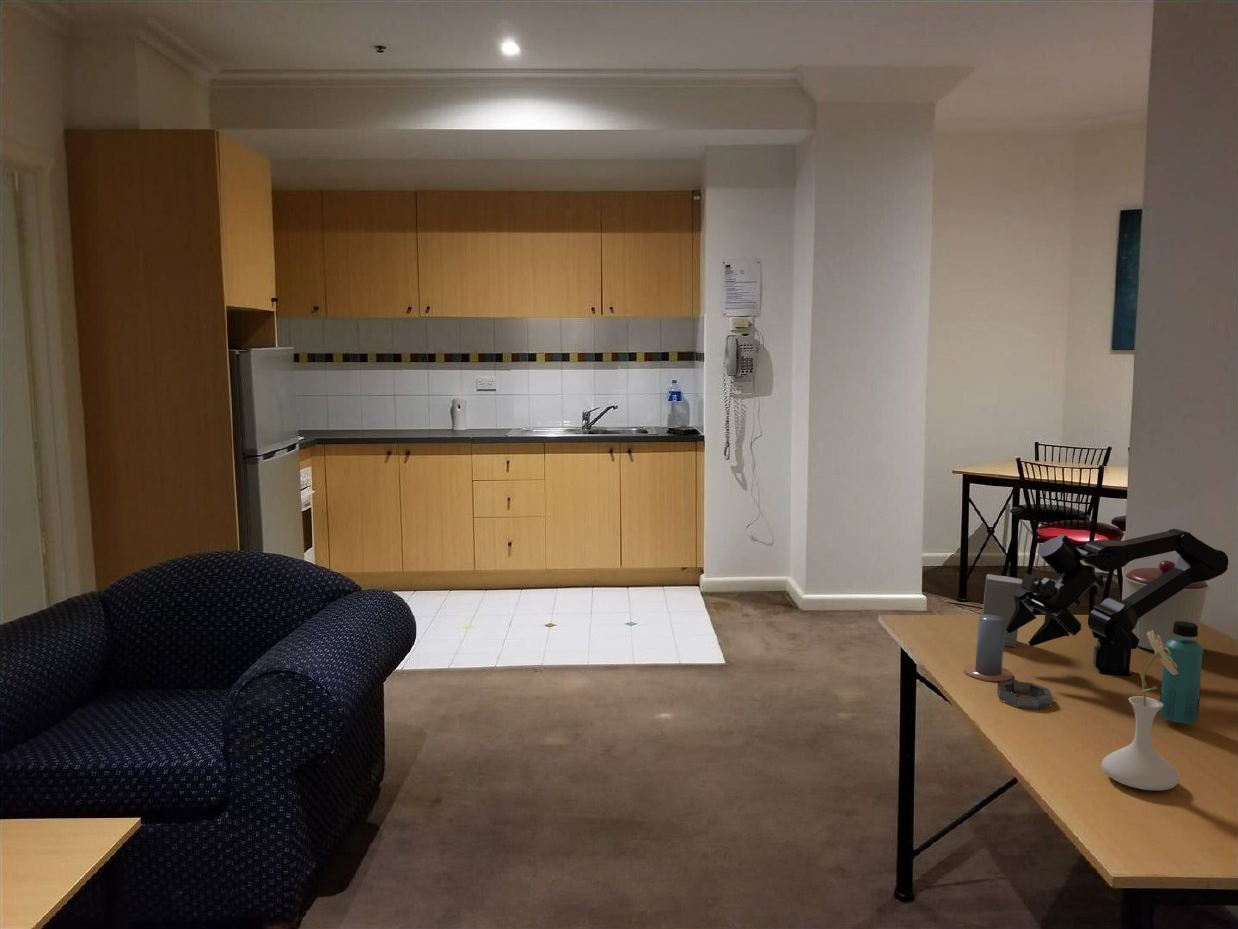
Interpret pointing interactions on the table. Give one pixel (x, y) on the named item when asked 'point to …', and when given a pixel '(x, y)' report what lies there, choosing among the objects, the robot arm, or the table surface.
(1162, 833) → the table surface
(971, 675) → the terracotta coaster
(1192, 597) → the canister
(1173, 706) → the beverage bottle
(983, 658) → the blue-grey cylinder
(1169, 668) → the flower in vase
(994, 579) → the skincare box
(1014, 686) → the dark grey octagonal ring
